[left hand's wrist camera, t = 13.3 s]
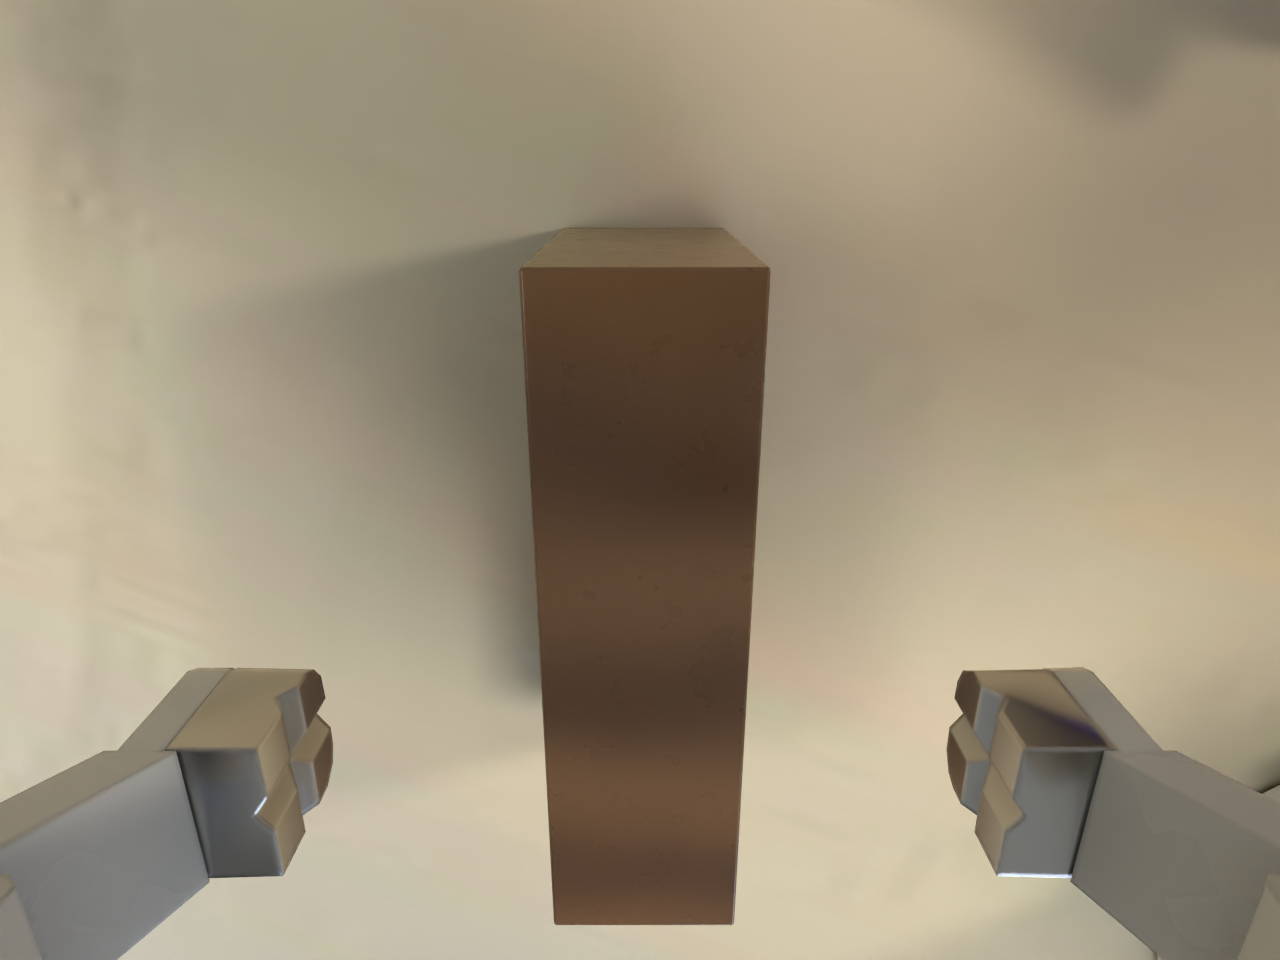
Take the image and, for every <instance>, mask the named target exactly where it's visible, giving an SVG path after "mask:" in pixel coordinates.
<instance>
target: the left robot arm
mask: <svg viewBox="0 0 1280 960" xmlns="http://www.w3.org/2000/svg"><path fill="white" fill-rule="evenodd" d="M324 700H325V694H324V689H323V684H322V680H321V676H320V675H319V674H318V673H317V672H316V671H315V670H311V669H263V668H237V669H234V668H197V669H193V670H190V671H188V672H187V673H186V674H185V675H184V676H183V677H182V678H181V679H180V681H179V682H178V683H177V684H176V685H175V686H174V687H173V688H172V690H171V691H170V692H169V693H168V694H167V695H166V696H165V697H164V699H163V700H162V701H161V702H160V703H159V704H158V705H157V706H156V708H155V709H154V710H153V711H152V712H151V713H150V714H149V715H148V717H147V718H146V719H145V720H144V721H143V722H142V723H141V724H140V726H139V727H138V728H137V729H136V730H135V731H134V732H133V733H132V735H131V736H130V737H129V738H128V739H127V740H126V741H125V742H124V744H123V745H122V746H121V747H120V748H119V749H118V750H117V751H103V752H101V753H99V754H97V755H95V756H93V757H91V758H89V759H87V760H85V761H83V762H81V763H79V764H77V765H75V766H73V767H71V768H69V769H67V770H65V771H63V772H61V773H59V774H57V775H55V776H53V777H51V778H49V779H47V780H45V781H43V782H41V783H39V784H37V785H35V786H33V787H31V788H29V789H27V790H25V791H23V792H21V793H19V794H17V795H15V796H13V797H11V798H9V799H7V800H5V801H3V802H1V803H0V960H117V959H118V958H120V957H121V956H122V955H123V954H124V953H126V952H127V951H128V950H129V949H130V948H131V947H133V946H134V945H135V944H136V943H137V942H139V941H140V940H141V939H142V938H143V937H145V936H146V935H147V934H148V933H149V932H151V931H152V930H153V929H154V928H155V927H156V926H158V925H159V924H160V923H161V922H162V921H164V920H165V919H166V918H167V917H168V916H170V915H171V914H172V913H173V912H174V911H176V910H177V909H178V908H179V907H180V906H181V905H183V904H184V903H185V902H186V901H187V900H189V899H190V898H191V897H192V896H193V895H195V894H196V893H197V892H198V891H199V890H201V889H202V888H203V887H204V886H205V885H206V884H208V883H209V878H227V877H262V876H283V875H284V873H285V871H286V869H287V867H288V865H289V863H290V861H291V859H292V857H293V855H294V853H295V851H296V849H297V847H298V845H299V843H300V841H301V839H302V837H303V835H304V834H305V826H304V821H303V815H304V814H305V813H307V812H308V811H310V810H311V809H312V808H314V807H315V806H317V805H318V804H319V803H320V801H321V799H322V797H323V795H324V792H325V790H326V788H327V786H328V782H329V777H330V773H331V768H332V764H333V741H332V734H331V728H330V726H329V725H328V724H327V723H326V722H325V721H324V720H323V719H322V718H321V717H320V716H319V715H318V714H317V712H318V710H319V708H320V707H321V705H322V703H323V701H324ZM955 700H956V701H957V703H958V705H959V707H960V708H961V710H962V712H963V714H962V715H961V716H960V717H959V718H958V719H957V720H956V721H955V722H954V723H953V724H952V725H951V726H950V728H949V736H948V743H947V759H948V771H949V775H950V778H951V782H952V785H953V788H954V791H955V793H956V795H957V797H958V799H959V801H960V803H961V804H962V805H963V806H965V807H966V808H968V809H969V810H970V811H972V812H973V813H975V814H976V815H977V821H976V826H975V834H976V835H977V837H978V839H979V841H980V843H981V845H982V847H983V849H984V851H985V853H986V855H987V857H988V859H989V861H990V863H991V865H992V867H993V869H994V871H995V873H996V875H997V876H1016V877H1052V878H1071V881H1070V882H1072V883H1073V884H1074V885H1075V886H1076V887H1078V888H1079V889H1080V890H1081V891H1082V892H1083V893H1085V894H1086V895H1087V896H1088V897H1089V898H1091V899H1092V900H1093V901H1094V902H1095V903H1097V904H1098V905H1099V906H1100V907H1101V908H1102V909H1104V910H1105V911H1106V912H1107V913H1108V914H1110V915H1111V916H1112V917H1113V918H1114V919H1116V920H1117V921H1118V922H1119V923H1120V924H1121V925H1123V926H1124V927H1125V928H1126V929H1127V930H1129V931H1130V932H1131V933H1132V934H1133V935H1135V936H1136V937H1137V938H1138V939H1139V940H1140V941H1142V942H1143V943H1144V944H1145V945H1146V946H1148V947H1149V948H1150V949H1151V950H1152V951H1154V952H1155V953H1156V954H1157V958H1158V960H1280V785H1278V786H1276V787H1274V788H1272V789H1270V790H1268V791H1266V792H1264V793H1262V794H1261V793H1259V792H1257V791H1255V790H1253V789H1251V788H1249V787H1247V786H1245V785H1243V784H1241V783H1239V782H1237V781H1235V780H1233V779H1231V778H1229V777H1227V776H1225V775H1223V774H1221V773H1219V772H1217V771H1215V770H1213V769H1211V768H1209V767H1207V766H1205V765H1203V764H1201V763H1199V762H1197V761H1195V760H1193V759H1191V758H1189V757H1187V756H1185V755H1183V754H1181V753H1179V752H1177V751H1163V750H1162V749H1161V748H1160V747H1159V746H1158V745H1157V744H1156V742H1155V741H1154V740H1153V739H1152V738H1151V737H1150V736H1149V735H1148V733H1147V732H1146V731H1145V730H1144V729H1143V728H1142V727H1141V726H1140V724H1139V723H1138V722H1137V721H1136V720H1135V719H1134V718H1133V717H1132V715H1131V714H1130V713H1129V712H1128V711H1127V710H1126V709H1125V708H1124V706H1123V705H1122V704H1121V703H1120V702H1119V701H1118V700H1117V699H1116V697H1115V696H1114V695H1113V694H1112V693H1111V692H1110V691H1109V690H1108V688H1107V687H1106V686H1105V685H1104V684H1103V683H1102V682H1101V681H1100V679H1099V678H1098V677H1097V676H1096V675H1095V674H1094V673H1093V672H1092V671H1090V670H1088V669H1085V668H1083V667H1075V668H1045V669H1037V670H971V671H963V672H962V674H961V676H960V678H959V680H958V682H957V688H956V693H955Z"/></svg>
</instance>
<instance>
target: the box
mask: <svg viewBox="0 0 1280 960" xmlns="http://www.w3.org/2000/svg"><path fill="white" fill-rule="evenodd" d="M770 272H771V271H770V268H769V267H768V266H767V265H766V264H764V263H763V262H762V261H761V260H760V259H759V258H757V257H756V256H755V255H754V254H753V253H752V252H750V251H749V250H748V249H747V248H746V247H745V246H743V245H742V244H741V243H740V242H739V241H737V240H736V239H735V238H734V237H733V236H732V235H730V234H729V233H728V232H727V231H726V230H725V229H723V228H564V229H562V230H561V231H560V232H559V233H558V234H557V235H556V236H555V237H554V238H553V239H551V240H550V241H549V242H548V243H547V244H546V245H545V246H544V247H543V248H542V249H540V250H539V251H538V252H537V253H536V254H535V255H534V256H533V257H532V258H531V259H530V260H528V261H527V262H526V263H525V264H524V265H523V266H522V267H521V268H520V270H519V279H520V298H521V316H522V335H523V353H524V372H525V391H526V409H527V428H528V446H529V465H530V484H531V502H532V521H533V539H534V558H535V577H536V595H537V614H538V632H539V651H540V670H541V688H542V707H543V725H544V744H545V763H546V781H547V800H548V818H549V837H550V855H551V874H552V893H553V911H554V923H555V924H556V925H733V923H734V913H735V895H736V877H737V860H738V842H739V824H740V806H741V788H742V771H743V753H744V735H745V717H746V699H747V682H748V664H749V646H750V628H751V610H752V593H753V575H754V557H755V539H756V521H757V504H758V486H759V468H760V450H761V432H762V415H763V397H764V379H765V361H766V343H767V326H768V308H769V290H770Z"/></svg>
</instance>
